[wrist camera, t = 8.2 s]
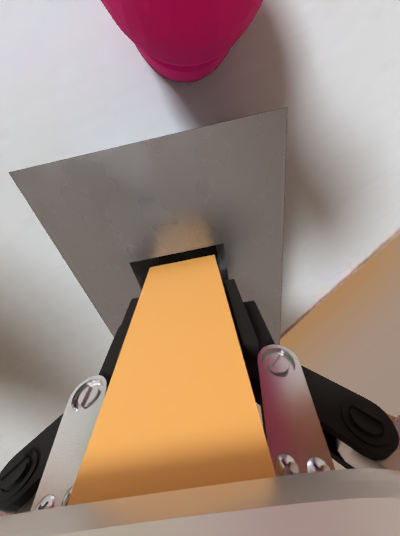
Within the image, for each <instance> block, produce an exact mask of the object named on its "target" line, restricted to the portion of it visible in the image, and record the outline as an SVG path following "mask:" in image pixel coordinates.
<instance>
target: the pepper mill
mask: <svg viewBox="0 0 400 536" xmlns="http://www.w3.org/2000/svg"><path fill="white" fill-rule="evenodd" d="M101 1H102V3H103V4H104V6H105V7H106V9H107V10H108V12H109V13H110V15H111V16H112V18H113V19H114V21H115V22H116V24H117V25H118V26H119V27H120V29H121V30H122V31H123V32H124V33H125V34H126V35H127V36H128V37H129V38H130V39H131V40H132V41H133V42H134V43H135V45H136V47H137V49H138V50H139V52H140V53H141V55H142V56H143V57H144V59H145V60H146V61H147V62H148V63H149V64H150V65H151V66H152V67H153V68H154V69H155V70H156V71H157V72H159V73H160V74H162V75H163V76H165V77H167V78H169V79H172V80H175V81H180V82H191V81H196V80H199V79H201V78H204V77H205V76H207V75H208V74H210V73H211V72H212V71H213V70H215V69H216V68H217V66H218V65H219V64H220V63H221V62H222V60H223V59H224V58H225V56H226V54H227V53H228V51H229V49H230V47H231V46H232V45H233V44H234V43H235V42H236V41H237V40H238V39H239V38H240V36H241V35H242V34H243V33H244V32H245V30H246V29H247V27H248V26H249V25H250V23H251V21H252V20H253V18H254V16H255V14H256V13H257V11H258V9H259V8H260V6H261V3H262V1H263V0H101Z"/></svg>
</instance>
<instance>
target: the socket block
mask: <svg viewBox="0 0 400 536" xmlns="http://www.w3.org/2000/svg"><path fill="white" fill-rule="evenodd" d="M286 134H287V107H286V108H281V109H277V110H273V111H269V112H264V113H260V114H256V115H252V116H247V117H243V118H239V119H234V120H230V121H226V122H222V123H217V124H213V125H209V126H205V127H200V128H196V129H192V130H188V131H183V132H179V133H175V134H171V135H166V136H162V137H158V138H153V139H149V140H145V141H141V142H136V143H132V144H128V145H124V146H119V147H115V148H111V149H107V150H102V151H98V152H94V153H90V154H85V155H81V156H77V157H73V158H68V159H64V160H60V161H55V162H51V163H47V164H43V165H38V166H34V167H30V168H26V169H21V170H17V171H13V172H9V174H10V176H11V177H12V179H13V180H14V182H15V183H16V185H17V186H18V188H19V190H20V191H21V193H22V194H23V196H24V197H25V199H26V200H27V202H28V204H29V205H30V207H31V208H32V210H33V211H34V213H35V215H36V216H37V218H38V219H39V221H40V222H41V224H42V225H43V227H44V229H45V230H46V232H47V233H48V235H49V236H50V238H51V240H52V241H53V243H54V244H55V246H56V247H57V249H58V250H59V252H60V254H61V255H62V257H63V258H64V260H65V261H66V263H67V264H68V266H69V268H70V269H71V271H72V272H73V274H74V275H75V277H76V279H77V280H78V282H79V283H80V285H81V286H82V288H83V289H84V291H85V293H86V294H87V296H88V297H89V299H90V300H91V302H92V304H93V305H94V307H95V308H96V310H97V311H98V313H99V314H100V316H101V318H102V319H103V321H104V322H105V324H106V325H107V327H108V328H109V330H110V332H111V333H112V335H113V336H114V337H115V335H116V332H117V330H118V328H119V326H120V325H121V324H122V321H123V319H124V316H125V314H126V311H127V309H128V306H129V304H130V301H131V299H133V298H138V297H140V294H141V292H142V289H143V286H144V283H145V280H146V277H147V274H148V272H149V269H150V267H155V266H160V265H161V264H160V261H159V259H158V257H160V256H165V255H170V254H175V253H179V252H184V251H189V250H194V249H199V248H204V247H209V246H213V245H216V247H217V253H218V259H219V265H220V270H219V273H220V276H221V280H222V283H223V284H224V281H225V280H231V279H234V280H235V282H236V285H237V288H238V290H239V293H240V295H241V298H242V301H243V302H247V301H253V300H254V301H255V303H256V305H257V307H258V309H259V311H260V313H261V315H262V317H263V319H264V322H265V324H266V326H267V328H268V330H269V332H270V334H271V336H272V339H273V341H274V343H275V344H276V345H280V319H281V288H282V257H283V227H284V196H285V165H286Z"/></svg>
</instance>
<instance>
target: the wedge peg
mask: <svg viewBox="0 0 400 536" xmlns="http://www.w3.org/2000/svg"><path fill="white" fill-rule="evenodd" d="M270 477H276V474H275V470H274V466H273V463H272V459H271V456H270V452H269V449H268V445H267V441H266V438H265V434H264V431H263V427H262V424H261V420H260V416H259V413H258V409H257V406H256V402H255V398H254V395H253V391H252V388H251V384H250V380H249V377H248V373H247V370H246V366H245V362H244V359H243V355H242V352H241V348H240V344H239V341H238V337H237V334H236V330H235V327H234V323H233V319H232V316H231V312H230V309H229V305H228V301H227V298H226V294H225V291H224V287H223V283H222V280H221V276H220V273H219V269H218V266H217V262H216V258H215V255H209V256H204V257H199V258H195V259H190V260H185V261H180V262H175V263H170V264H165V265H160V266H155V267H150V269H149V272H148V274H147V277H146V280H145V283H144V286H143V289H142V292H141V294H140V297H139V300H138V303H137V306H136V309H135V312H134V315H133V317H132V320H131V323H130V326H129V329H128V332H127V335H126V337H125V340H124V343H123V346H122V349H121V352H120V355H119V357H118V360H117V363H116V366H115V369H114V372H113V375H112V377H111V380H110V383H109V386H108V389H107V392H106V395H105V398H104V400H103V403H102V406H101V409H100V412H99V415H98V418H97V420H96V423H95V426H94V429H93V432H92V435H91V438H90V440H89V443H88V446H87V449H86V452H85V455H84V458H83V461H82V463H81V466H80V469H79V472H78V475H77V478H76V481H75V483H74V486H73V489H72V492H71V495H70V498H69V501H68V503H67V506H69V505H76V504H83V503H90V502H97V501H104V500H111V499H118V498H125V497H132V496H139V495H146V494H153V493H160V492H168V491H175V490H182V489H189V488H196V487H203V486H211V485H218V484H226V483H233V482H240V481H248V480H255V479H263V478H270Z"/></svg>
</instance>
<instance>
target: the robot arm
mask: <svg viewBox="0 0 400 536" xmlns="http://www.w3.org/2000/svg"><path fill="white" fill-rule="evenodd" d="M223 287H224V291H225V294H226V298H227V301H228V305H229V309H230V312H231V316H232V319H233V323H234V327H235V330H236V334H237V337H238V341H239V344H240V348H241V352H242V355H243V359H244V362H245V366H246V370H247V373H248V377H249V380H250V384H251V388H252V391H253V395H254V398H255V402H257V403H258V404H259V405H260V406H261V413H262V421H263V429H264V434H265V438H266V441H267V445H268V449H269V452H270V456H271V459H272V463H273V466H274V470H275V474H276V477H270V478H263V479H255V480H248V481H240V482H233V483H226V484H218V485H211V486H203V487H196V488H189V489H182V490H175V491H168V492H160V493H153V494H146V495H139V496H132V497H125V498H118V499H111V500H104V501H97V502H90V503H83V504H76V505H69V506H67V503H68V501H69V498H70V495H71V492H72V489H73V486H74V483H75V481H76V478H77V475H78V472H79V469H80V466H81V463H82V461H83V458H84V455H85V452H86V449H87V446H88V443H89V440H90V438H91V435H92V432H93V429H94V426H95V423H96V420H97V418H98V415H99V412H100V409H101V406H102V403H103V400H104V398H105V395H106V392H107V389H108V386H109V383H110V380H111V377H112V375H113V372H114V369H115V366H116V363H117V360H118V357H119V355H120V352H121V349H122V346H123V343H124V340H125V337H126V335H127V332H128V329H129V326H130V323H131V320H132V317H133V315H134V312H135V309H136V306H137V303H138V300H139V297H138V298H133V299H131V301H130V304H129V306H128V309H127V311H126V314H125V316H124V319H123V321H122V324H121V325H120V326H119V328H118V330H117V332H116V335H115V337H114V339H113V342H112V344H111V347H110V349H109V352H108V354H107V356H106V359H105V361H104V364H103V366H102V369H101V371H100V373H99V375H95V376H91V377H89V378H87V379H85V380H84V381H83V382H81V383H80V384H79V385H78V386H77V387H76V388H75V390H74V391H73V392H72V394H71V395H70V398H69V400H68V402H67V405H66V408H65V411H64V413H63V414H62V415H61V416H60V417H59V418H57V419H56V420H55V421H54V422H53V423H52V424H51V425H49V426H48V427H47V428H46V429H45V430H44V431H43V432H41V433H40V434H39V435H38V436H37V437H36V438H35V439H33V440H32V441H31V442H30V443H29V444H28V445H27V446H25V447H24V448H23V449H22V450H21V451H20V452H19V453H17V454H16V455H15V456H14V457H13V458H12V459H11V460H10V461H9V462H8V464H7V465H6V466H5V467H4V469H3V470H2V471H1V473H0V536H400V415H398V416H397V417H394V416H391V415H389V414H386V413H385V412H384V411H383V410H382V409H381V408H380V407H378V406H377V405H376V404H374V403H372V402H371V401H369V400H368V399H366V398H364V397H362V396H360V395H358V394H356V393H354V392H352V391H350V390H348V389H346V388H344V387H342V386H340V385H338V384H337V383H334V382H332V381H331V380H329V379H327V378H325V377H323V376H321V375H319V374H317V373H315V372H313V371H311V370H309V369H307V368H305V367H303V366H301V364H300V362H299V360H298V358H297V356H296V355H295V354H294V353H293V352H292V351H291V350H290V349H288V348H287V347H284V346H281V345H276V344H275V343H274V341H273V339H272V336H271V334H270V332H269V330H268V328H267V326H266V324H265V322H264V319H263V317H262V315H261V313H260V311H259V309H258V307H257V305H256V303H255V301H254V300H253V301H247V302H243V301H242V298H241V295H240V293H239V290H238V288H237V285H236V282H235V280H234V279H231V280H225V281H224V284H223ZM332 458H333V459H334V460H335V461H337V462H338V463H339V464H341V465H342V466H344V467H345V468H346V469H341V470H340V469H339V470H335V467H334V464H333V461H332Z"/></svg>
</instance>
